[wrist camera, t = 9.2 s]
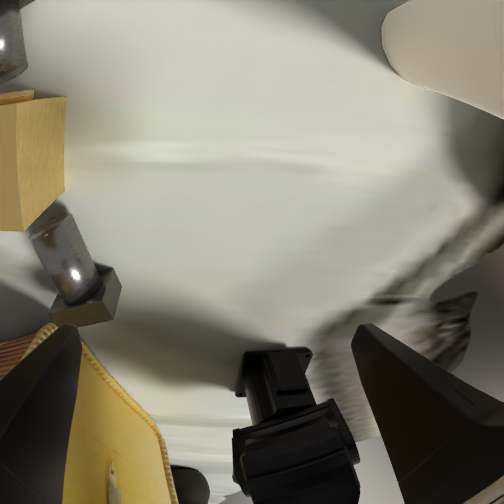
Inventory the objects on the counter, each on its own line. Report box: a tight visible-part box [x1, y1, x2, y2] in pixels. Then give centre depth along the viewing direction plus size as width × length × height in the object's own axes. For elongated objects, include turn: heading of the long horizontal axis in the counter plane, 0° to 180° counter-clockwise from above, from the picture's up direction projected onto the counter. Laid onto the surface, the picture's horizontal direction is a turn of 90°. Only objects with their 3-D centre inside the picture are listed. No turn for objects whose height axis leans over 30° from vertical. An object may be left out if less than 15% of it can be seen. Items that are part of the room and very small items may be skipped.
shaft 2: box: [30, 213, 122, 328], centre depth 17 cm, size 6×4×4 cm
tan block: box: [0, 89, 66, 232], centre depth 12 cm, size 7×4×6 cm, turn 171°
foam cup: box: [381, 0, 504, 120], centre depth 10 cm, size 10×9×13 cm
